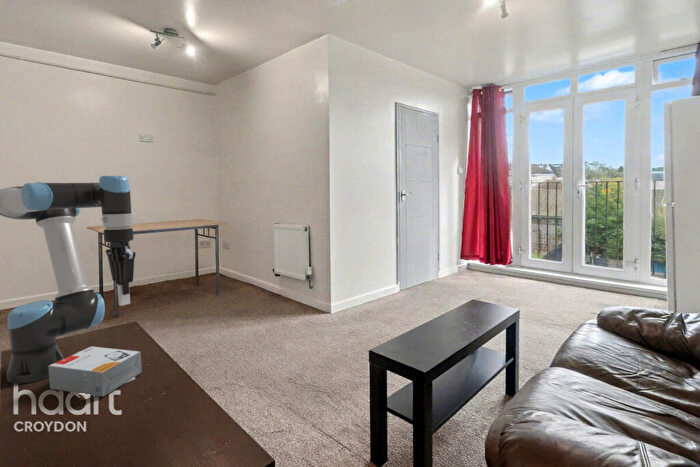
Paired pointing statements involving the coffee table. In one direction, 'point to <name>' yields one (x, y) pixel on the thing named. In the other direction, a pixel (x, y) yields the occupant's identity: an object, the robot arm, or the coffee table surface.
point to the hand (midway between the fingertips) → (124, 304)
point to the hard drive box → (95, 370)
